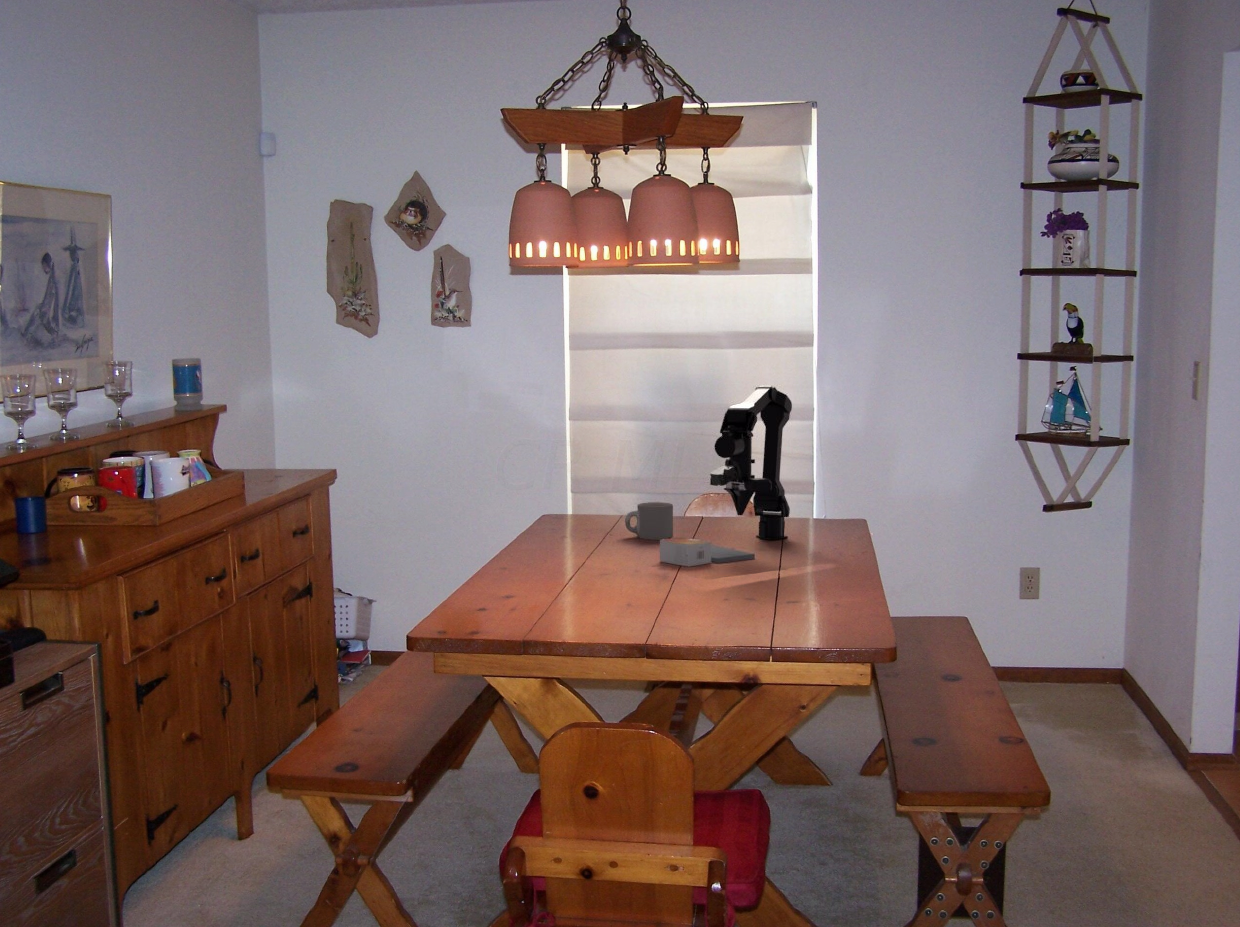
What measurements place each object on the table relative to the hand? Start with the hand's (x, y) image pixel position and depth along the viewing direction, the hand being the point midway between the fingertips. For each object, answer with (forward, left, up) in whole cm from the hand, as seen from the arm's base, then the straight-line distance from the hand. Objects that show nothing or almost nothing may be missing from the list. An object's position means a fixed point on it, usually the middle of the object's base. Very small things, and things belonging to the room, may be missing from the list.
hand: (740, 515), depth 302 cm
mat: (+8, 0, -10) cm, 13 cm away
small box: (+19, +9, -7) cm, 22 cm away
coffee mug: (+7, -32, -10) cm, 34 cm away
